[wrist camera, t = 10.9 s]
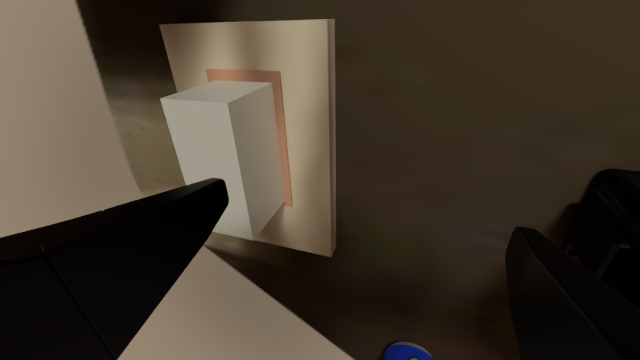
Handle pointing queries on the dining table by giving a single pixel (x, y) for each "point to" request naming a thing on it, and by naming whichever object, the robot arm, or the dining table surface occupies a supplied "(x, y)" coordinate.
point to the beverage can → (406, 352)
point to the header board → (277, 109)
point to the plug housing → (230, 148)
